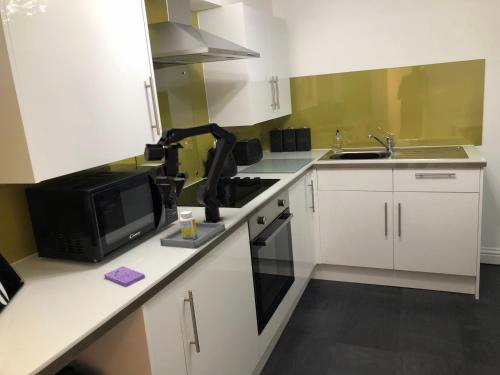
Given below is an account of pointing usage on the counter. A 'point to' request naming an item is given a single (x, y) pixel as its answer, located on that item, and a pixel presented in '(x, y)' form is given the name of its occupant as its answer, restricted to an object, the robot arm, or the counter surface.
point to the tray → (203, 235)
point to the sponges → (124, 276)
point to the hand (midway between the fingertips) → (173, 199)
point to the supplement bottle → (188, 226)
